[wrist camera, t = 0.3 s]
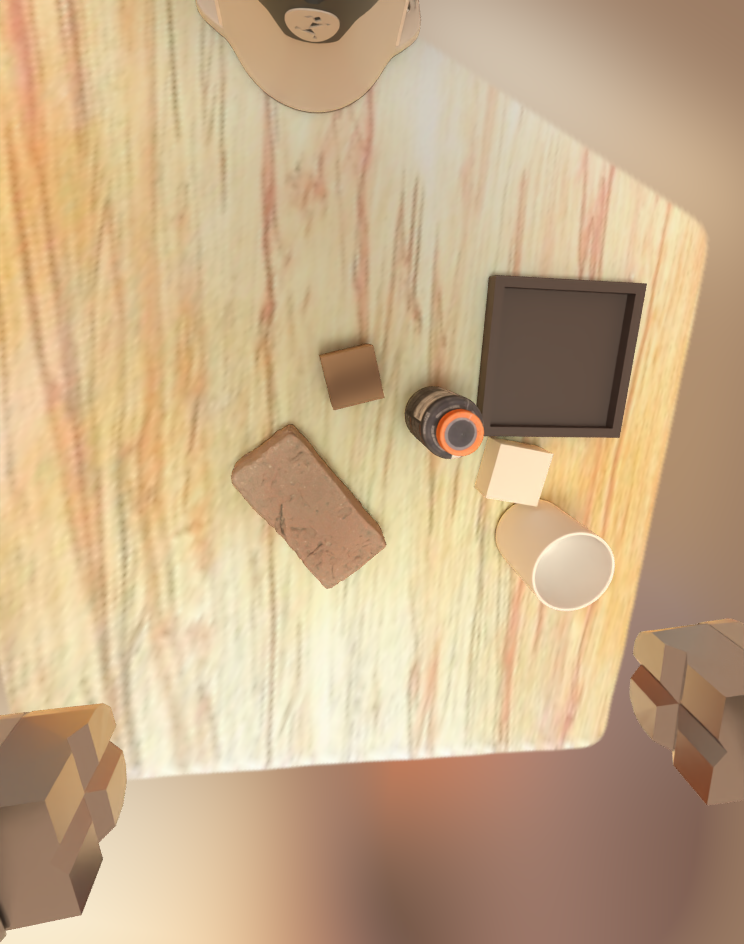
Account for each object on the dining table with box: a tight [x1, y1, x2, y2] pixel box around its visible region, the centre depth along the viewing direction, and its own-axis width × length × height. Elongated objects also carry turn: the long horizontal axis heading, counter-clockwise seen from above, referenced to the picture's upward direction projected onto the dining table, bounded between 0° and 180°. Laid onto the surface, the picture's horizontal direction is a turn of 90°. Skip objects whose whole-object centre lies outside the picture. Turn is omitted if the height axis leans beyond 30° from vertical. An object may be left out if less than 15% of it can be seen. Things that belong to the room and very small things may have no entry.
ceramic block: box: [474, 436, 553, 507], centre depth 55 cm, size 6×6×4 cm
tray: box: [477, 275, 647, 438], centre depth 53 cm, size 16×16×2 cm
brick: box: [231, 425, 386, 589], centre depth 53 cm, size 17×8×5 cm, turn 37°
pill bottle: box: [405, 386, 484, 459], centre depth 48 cm, size 6×6×11 cm
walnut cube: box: [319, 344, 384, 410], centre depth 49 cm, size 5×5×5 cm
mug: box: [496, 499, 615, 611], centre depth 55 cm, size 9×12×11 cm
